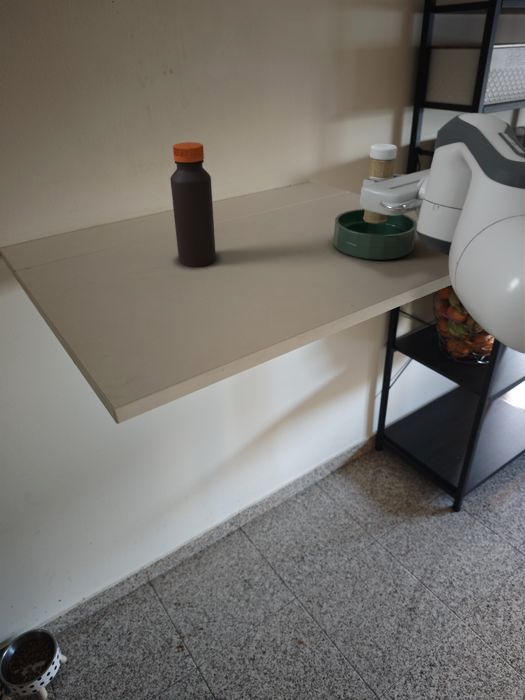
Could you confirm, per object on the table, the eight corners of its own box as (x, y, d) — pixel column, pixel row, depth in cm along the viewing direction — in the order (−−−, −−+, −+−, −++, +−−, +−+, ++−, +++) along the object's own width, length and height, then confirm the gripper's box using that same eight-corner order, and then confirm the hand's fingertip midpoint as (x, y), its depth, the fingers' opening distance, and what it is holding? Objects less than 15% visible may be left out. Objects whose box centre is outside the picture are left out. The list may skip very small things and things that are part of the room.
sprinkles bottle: (369, 215, 97) (378, 141, 89) (391, 220, 94) (402, 144, 87) (358, 221, 94) (366, 146, 86) (380, 226, 91) (390, 149, 84)
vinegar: (223, 260, 92) (217, 145, 81) (193, 271, 88) (182, 151, 77) (201, 250, 96) (192, 139, 85) (171, 259, 92) (158, 145, 81)
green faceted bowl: (393, 230, 104) (397, 206, 101) (426, 258, 92) (431, 232, 89) (323, 235, 102) (325, 211, 99) (347, 265, 89) (350, 238, 87)
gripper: (397, 231, 78) (334, 209, 87) (471, 205, 88) (408, 188, 97) (403, 190, 74) (337, 172, 83) (480, 168, 85) (413, 154, 94)
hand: (376, 180), depth 91 cm, fingers closed on sprinkles bottle, 4 cm apart
